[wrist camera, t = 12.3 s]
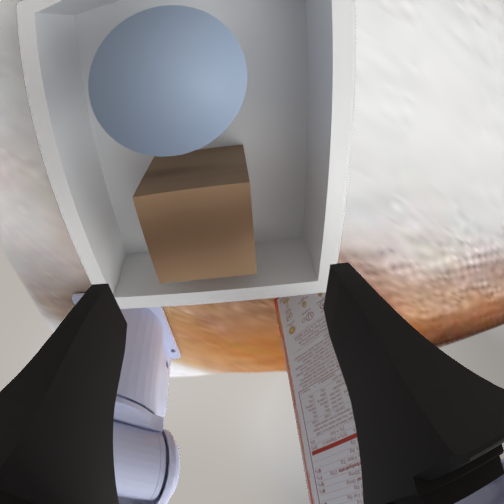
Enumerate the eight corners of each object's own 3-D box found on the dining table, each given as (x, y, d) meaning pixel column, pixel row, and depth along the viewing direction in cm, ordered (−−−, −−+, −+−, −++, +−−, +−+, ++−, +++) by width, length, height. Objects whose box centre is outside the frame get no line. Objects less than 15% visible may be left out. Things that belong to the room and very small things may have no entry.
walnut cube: (249, 220, 19) (257, 273, 16) (171, 229, 19) (159, 283, 15) (243, 144, 16) (249, 182, 12) (154, 156, 16) (132, 197, 12)
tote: (313, 241, 22) (332, 291, 18) (121, 258, 21) (104, 309, 18) (317, -28, 11) (351, -50, 7) (64, 7, 10) (16, 3, 6)
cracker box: (405, 316, 29) (476, 499, 13) (361, 347, 32) (412, 525, 15) (326, 250, 23) (422, 553, 6) (270, 297, 25) (314, 571, 9)
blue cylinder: (245, 102, 15) (258, 140, 9) (153, 121, 15) (112, 172, 10) (230, 14, 12) (234, -10, 6) (133, 37, 12) (73, 36, 6)
